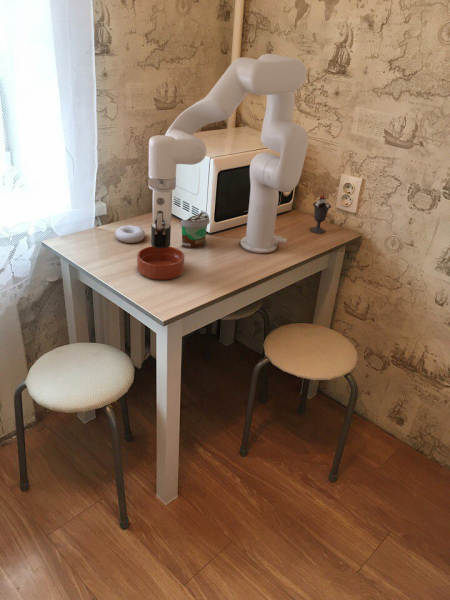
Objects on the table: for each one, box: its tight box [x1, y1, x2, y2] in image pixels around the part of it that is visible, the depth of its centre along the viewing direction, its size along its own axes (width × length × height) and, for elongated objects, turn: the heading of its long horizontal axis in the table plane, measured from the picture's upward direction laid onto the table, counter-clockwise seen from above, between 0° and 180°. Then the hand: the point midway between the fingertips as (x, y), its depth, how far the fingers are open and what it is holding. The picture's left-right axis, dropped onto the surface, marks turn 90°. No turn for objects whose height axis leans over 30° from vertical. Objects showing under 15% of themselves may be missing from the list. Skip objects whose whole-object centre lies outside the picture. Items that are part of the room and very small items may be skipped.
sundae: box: [310, 190, 332, 234], centre depth 190 cm, size 7×7×15 cm
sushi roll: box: [150, 222, 172, 248], centre depth 150 cm, size 6×6×6 cm
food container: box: [180, 210, 211, 249], centre depth 172 cm, size 12×6×10 cm, turn 148°
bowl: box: [136, 245, 185, 281], centre depth 155 cm, size 14×14×5 cm
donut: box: [114, 224, 146, 244], centre depth 174 cm, size 10×4×10 cm
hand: (160, 241), depth 151 cm, fingers closed on sushi roll, 5 cm apart
